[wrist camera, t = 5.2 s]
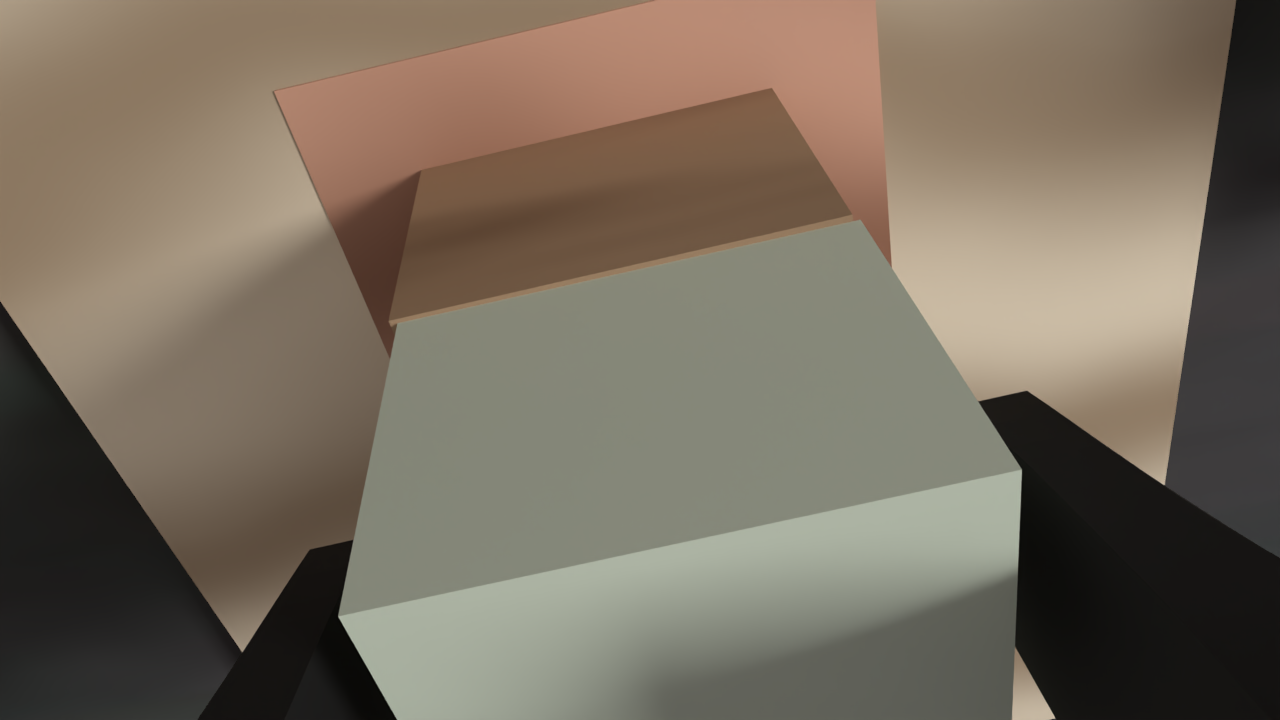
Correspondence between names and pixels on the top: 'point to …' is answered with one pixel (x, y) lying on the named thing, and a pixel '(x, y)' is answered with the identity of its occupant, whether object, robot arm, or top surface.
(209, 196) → the build board
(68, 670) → the top surface
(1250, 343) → the top surface
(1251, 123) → the top surface
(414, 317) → the walnut block
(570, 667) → the sage block
